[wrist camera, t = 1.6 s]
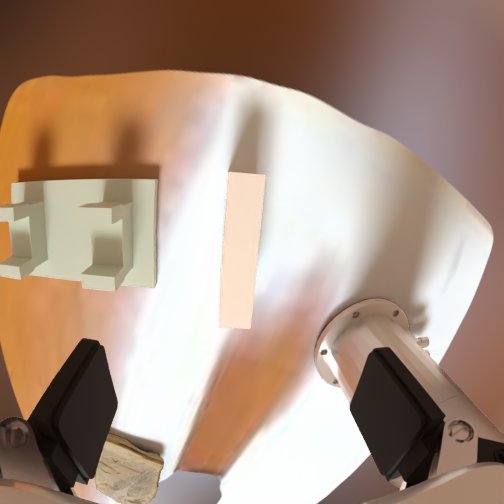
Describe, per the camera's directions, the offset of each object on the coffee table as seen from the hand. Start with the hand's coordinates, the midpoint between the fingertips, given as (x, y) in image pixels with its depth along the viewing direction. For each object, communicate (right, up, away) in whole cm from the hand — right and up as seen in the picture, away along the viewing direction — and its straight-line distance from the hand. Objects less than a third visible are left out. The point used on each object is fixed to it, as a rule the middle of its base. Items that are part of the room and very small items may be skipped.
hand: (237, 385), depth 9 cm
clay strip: (-1, +6, +18) cm, 19 cm away
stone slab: (-23, -38, +29) cm, 53 cm away
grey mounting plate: (-17, +7, +16) cm, 24 cm away
